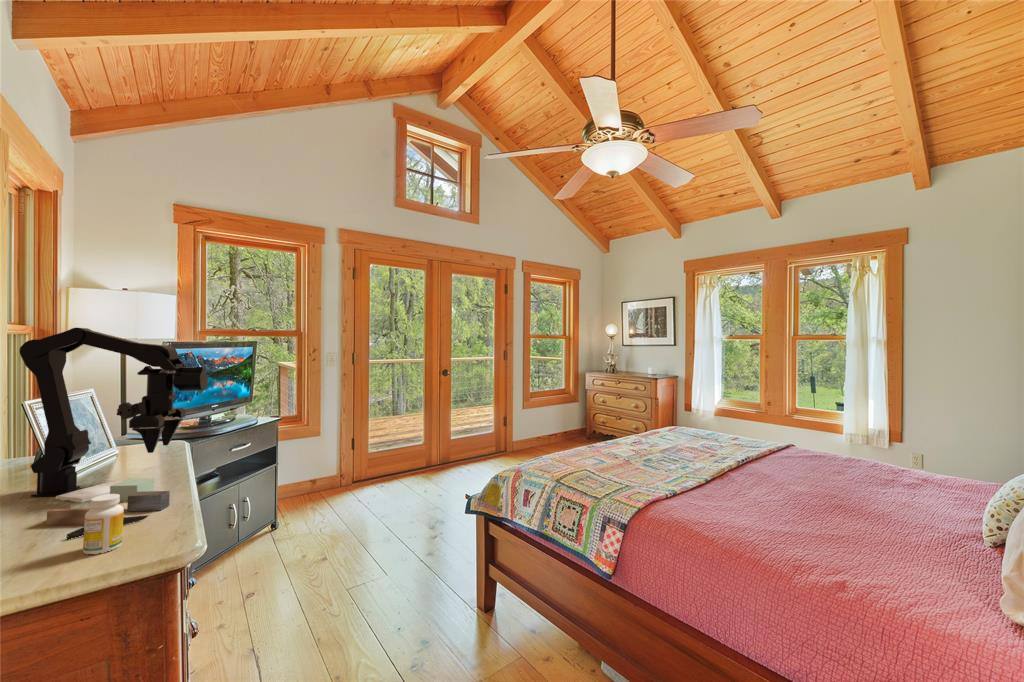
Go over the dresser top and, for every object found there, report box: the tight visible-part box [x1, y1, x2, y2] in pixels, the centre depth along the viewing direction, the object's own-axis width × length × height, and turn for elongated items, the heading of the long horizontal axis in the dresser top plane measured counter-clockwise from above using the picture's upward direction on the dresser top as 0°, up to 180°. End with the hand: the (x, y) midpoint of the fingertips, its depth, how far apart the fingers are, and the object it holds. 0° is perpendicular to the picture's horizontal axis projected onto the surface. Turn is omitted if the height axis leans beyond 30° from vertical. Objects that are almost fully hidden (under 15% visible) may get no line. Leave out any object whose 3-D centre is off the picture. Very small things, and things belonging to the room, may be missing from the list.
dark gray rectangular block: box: [127, 490, 171, 512], centre depth 102 cm, size 7×3×4 cm, turn 98°
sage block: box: [110, 477, 155, 502], centre depth 109 cm, size 6×6×4 cm
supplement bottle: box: [82, 494, 125, 555], centre depth 82 cm, size 5×5×10 cm
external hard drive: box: [55, 480, 120, 503], centre depth 112 cm, size 2×8×12 cm
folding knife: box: [66, 514, 151, 541], centre depth 90 cm, size 13×1×2 cm, turn 147°
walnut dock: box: [46, 502, 92, 526], centre depth 94 cm, size 10×5×3 cm, turn 98°
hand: (158, 448), depth 118 cm, fingers open, 9 cm apart
